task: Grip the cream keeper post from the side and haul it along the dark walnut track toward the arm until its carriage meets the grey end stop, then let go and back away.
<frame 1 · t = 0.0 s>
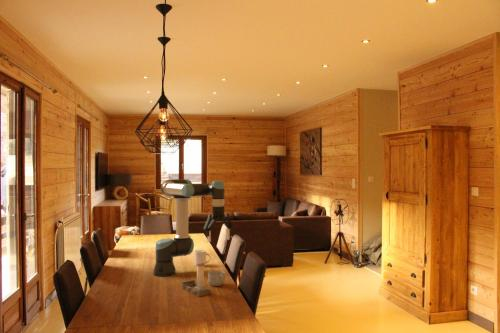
hand: (218, 240, 260), 28 cm above the table, tool pointing down, fingers open, 13 cm apart
mug: (202, 265, 315), on the table
track: (196, 291, 249), on the table
keeper: (200, 277, 245), point 9 cm above the table, slide at 10.6 cm
teacup: (217, 285, 261), on the table
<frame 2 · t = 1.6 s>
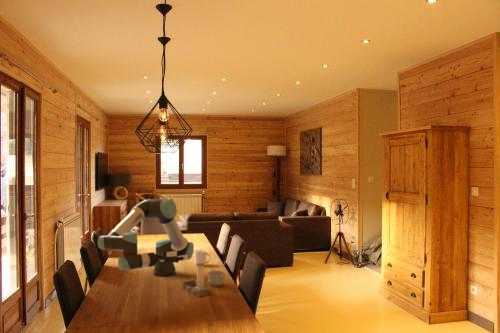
hand: (182, 255, 244), 22 cm above the table, tool horizontal, fingers open, 13 cm apart
nothing on the table moved.
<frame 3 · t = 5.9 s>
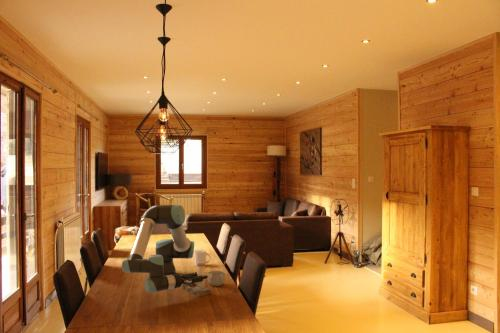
hand: (209, 274, 248), 10 cm above the table, tool horizontal, fingers closed on keeper, 4 cm apart
keeper: (201, 277, 244), point 9 cm above the table, slide at 11.7 cm, touching gripper, track
everything else where it was.
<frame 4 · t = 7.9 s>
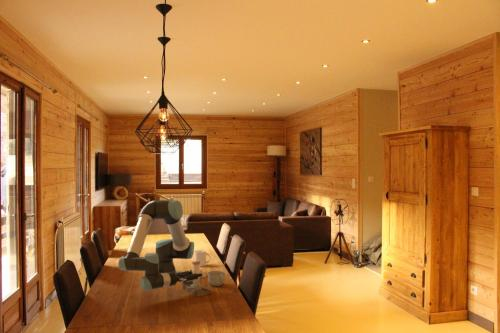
hand: (203, 272, 252), 10 cm above the table, tool horizontal, fingers closed on keeper, 4 cm apart
keeper: (196, 275, 249), point 9 cm above the table, slide at 5.7 cm, touching gripper
everything else where it was.
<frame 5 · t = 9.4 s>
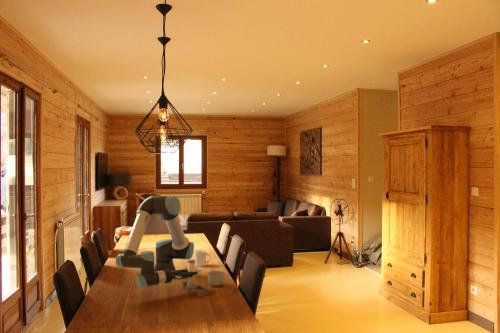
hand: (199, 271, 257), 10 cm above the table, tool horizontal, fingers closed on keeper, 4 cm apart
keeper: (191, 273, 254), point 9 cm above the table, slide at 0.0 cm, touching gripper, track
everything else where it was.
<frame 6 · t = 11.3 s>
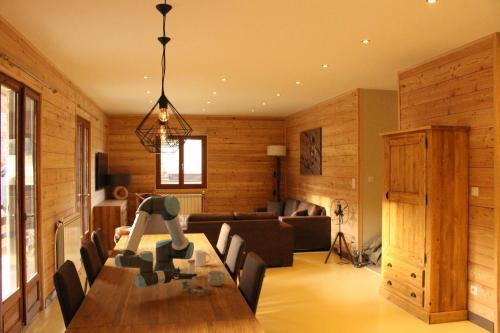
hand: (195, 271, 255), 10 cm above the table, tool horizontal, fingers open, 13 cm apart
keeper: (191, 273, 254), point 9 cm above the table, slide at 0.0 cm, touching track
everything else where it was.
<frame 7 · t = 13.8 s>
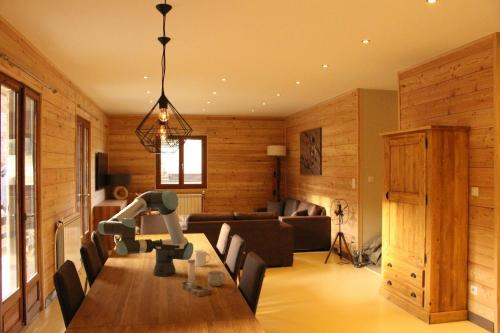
hand: (177, 244, 250), 28 cm above the table, tool horizontal, fingers open, 13 cm apart
nothing on the table moved.
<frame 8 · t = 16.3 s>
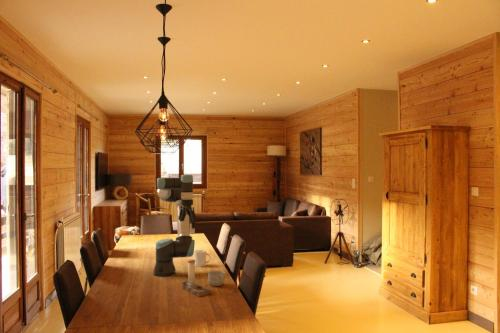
hand: (187, 232, 268), 32 cm above the table, tool pointing down, fingers open, 13 cm apart
nothing on the table moved.
at the end: keeper slide at 0.0 cm; the gripper is holding nothing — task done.
